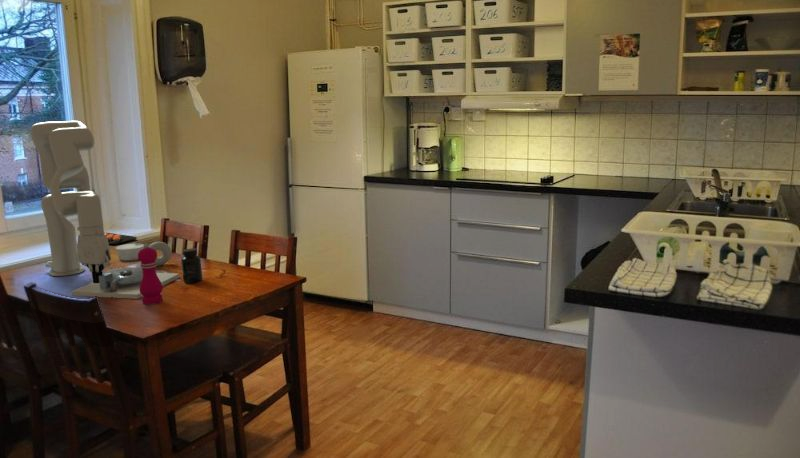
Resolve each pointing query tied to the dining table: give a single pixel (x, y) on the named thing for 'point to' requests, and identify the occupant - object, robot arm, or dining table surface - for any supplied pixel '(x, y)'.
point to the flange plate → (121, 277)
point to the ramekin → (129, 251)
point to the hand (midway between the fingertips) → (98, 282)
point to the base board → (121, 288)
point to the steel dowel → (112, 286)
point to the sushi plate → (118, 238)
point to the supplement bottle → (191, 266)
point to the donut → (165, 252)
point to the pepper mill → (149, 276)
